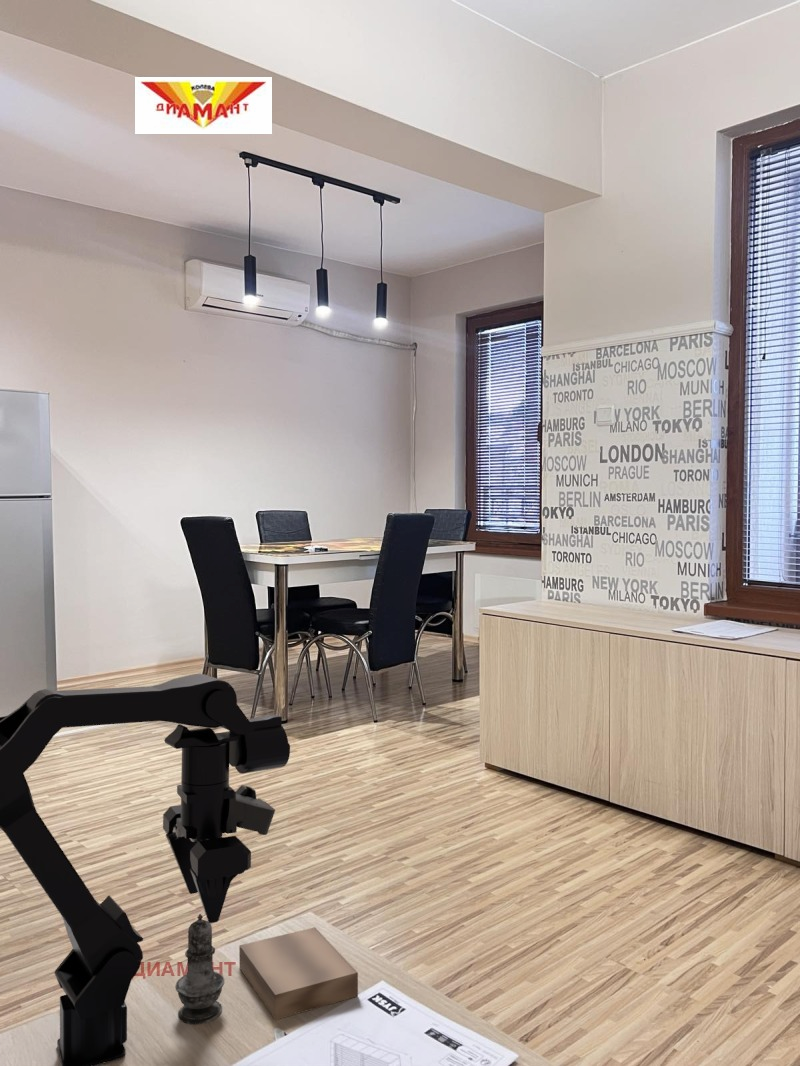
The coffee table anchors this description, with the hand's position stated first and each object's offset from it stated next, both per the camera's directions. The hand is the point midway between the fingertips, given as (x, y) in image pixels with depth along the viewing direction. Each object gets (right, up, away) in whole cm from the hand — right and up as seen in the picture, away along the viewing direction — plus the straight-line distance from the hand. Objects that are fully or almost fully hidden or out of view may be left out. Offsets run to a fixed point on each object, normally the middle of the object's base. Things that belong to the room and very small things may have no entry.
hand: (203, 906), depth 105 cm
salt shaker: (0, -13, 0) cm, 13 cm away
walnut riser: (+11, -13, +7) cm, 18 cm away
